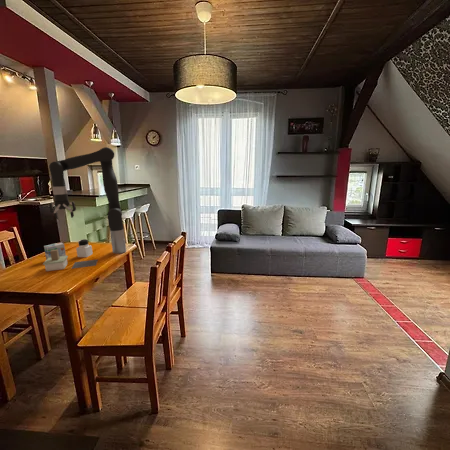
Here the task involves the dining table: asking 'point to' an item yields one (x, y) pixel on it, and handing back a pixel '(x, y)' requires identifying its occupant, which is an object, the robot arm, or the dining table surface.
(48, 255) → the light bulb box
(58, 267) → the white open box
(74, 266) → the mat
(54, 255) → the lid
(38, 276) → the dining table surface
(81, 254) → the medicine bottle
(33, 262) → the dining table surface
